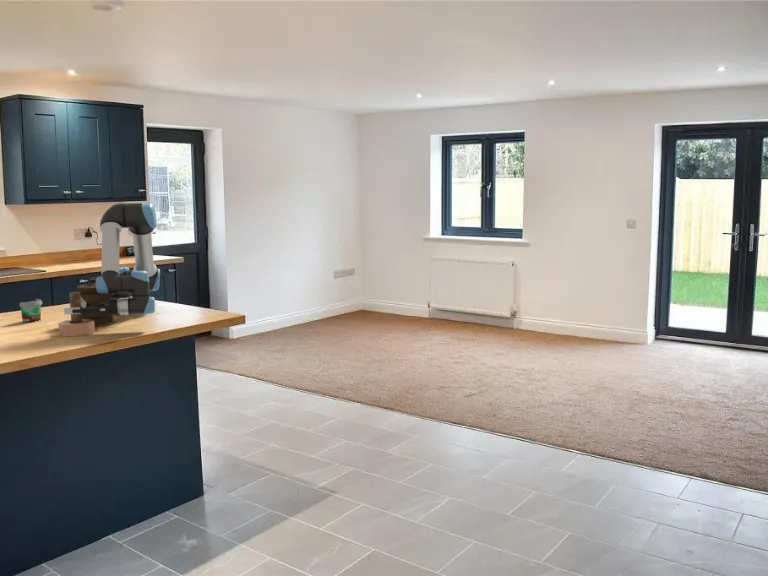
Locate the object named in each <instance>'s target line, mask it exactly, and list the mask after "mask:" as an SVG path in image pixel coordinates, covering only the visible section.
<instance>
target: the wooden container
mask: <svg viewBox="0 0 768 576" xmlns="http://www.w3.org/2000/svg"><path fill="white" fill-rule="evenodd" d="M96 278H97V277H95V276H94V277H93V276H92V277H90V278H89V283H88V284H87V283H86V284H81V285H77V286H76V292H80V298H81V303H86V304H87V302H109V299H111V293H108V294H103V293H98V292H97V289H96ZM113 316H114V315H110V314H109V311H105V313H92V314H84V315H82V319H91V320H94V325H95V327H99V326H100V325H101V326H105V325H106V324H107V325H110V323H111V324H113V322H114V319H113Z"/></svg>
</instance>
